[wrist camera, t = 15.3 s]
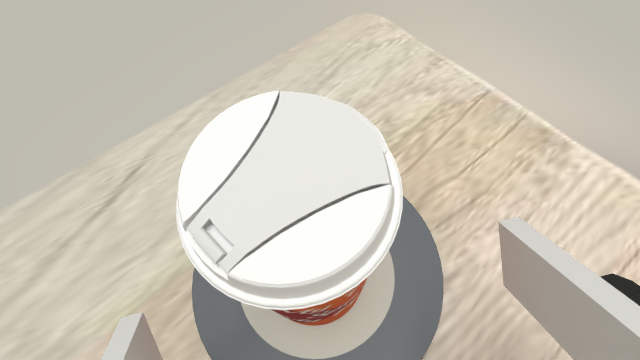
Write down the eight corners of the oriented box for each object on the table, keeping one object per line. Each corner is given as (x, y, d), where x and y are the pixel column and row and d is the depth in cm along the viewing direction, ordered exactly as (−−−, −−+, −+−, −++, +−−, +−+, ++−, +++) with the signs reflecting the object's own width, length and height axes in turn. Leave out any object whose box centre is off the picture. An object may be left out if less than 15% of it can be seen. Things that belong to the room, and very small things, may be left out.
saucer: (214, 446, 26) (208, 448, 25) (186, 199, 33) (180, 192, 32) (477, 377, 27) (483, 376, 26) (397, 149, 34) (398, 140, 32)
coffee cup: (313, 377, 26) (274, 364, 13) (224, 277, 29) (114, 179, 15) (408, 275, 28) (462, 171, 15) (317, 191, 31) (292, 39, 18)
